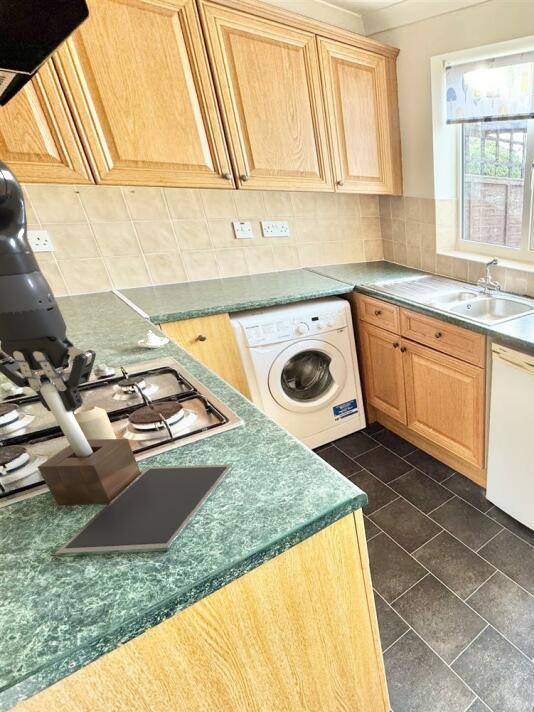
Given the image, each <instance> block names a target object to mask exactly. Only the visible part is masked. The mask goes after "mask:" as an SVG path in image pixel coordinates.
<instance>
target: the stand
mask: <svg viewBox="0 0 534 712" xmlns="http://www.w3.org/2000/svg"><path fill="white" fill-rule="evenodd" d="M87 442H88V443H89V445H90V447H91V449H92V451H93V453H94V454H92V455H91V456H90V457H81V458H77V456H76V454H75V452H74V451H73V449H72V447H71V445H70V444H68V446H66V447H65V448H63V449H62V450H60V451H59V452H57V453H56V454H54V455H53V456H50V458H49V459H47V460H45V461H43V462H42V463H41V464H39V465H38V466H37V469H38V471H39V473H40V475H41V476H42V477H41V478H42V479H43V480H44V482H45V485H46V487H47V489H48V491H49V492H50V494H51V497H52V498H53V500H54V502H55V504H56V505H57V506H60V507H61V506H81V505H108V504H109V503H110V502H111V501H112V500H113V499H114V498H115V497H116V496H117V495H118V494H120V493H121V492H122V491H123V490H124V489H125V488H126V487H127V486H128V485H129V484H130V483H132V482H133V481H134V480H135V479H136V478H137V477H138V476H139V475H140V474H141V473H142V472H141V470H140V466H139V464H138V462H137V459H136V457H135V454H134V452H133V449H132V447H131V444H130V441H129V439H128V438H117V439H93V440H87Z"/></svg>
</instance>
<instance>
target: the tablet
mask: <svg viewBox="0 0 534 712" xmlns="http://www.w3.org/2000/svg"><path fill="white" fill-rule="evenodd" d="M234 469H235V465H234V464H233V463H231V464H195V465H194V464H192V465H191V464H190V465H156V466H148V467H147V468H146V469H144V470H143V471H142V472H141V474H140V475H139V476H138V477H137V478H136V479H135V480H134V481H133V482H132V483H130V484H129V485H128V486H127V487H126V488H125V489H124V490H123V491H122V492H121V493H120V494H118V495H117V496H116V497H115V498H114V499H113V500H112V501H111V502H110V503H109V504H106V505H105V506H104V507H103V508H102V509H101V510H100V511H99V512H98V513H96V515H95V516H93V517H92V518H91V519H90V520H89V521H88V522H86V524H85V525H84V526H82V527H81V528H80V529H79V530H78V531H77V532H76V533H75V534H74V535H73V536H72V537H70V538H69V539H68V540H67V541H66V542H65V543H64V544H63V545H62V546H60V548H59V549H58V550H56V551H55V552H54V554H55V556H56V557H57V558H59V557H60V558H61V557H79V556H98V555H115V554H134V553H135V554H137V553H153V552H154V553H155V552H170V551H171V550H172V548H173V547H174V546H175V545H176V544H177V542H178V541H179V539H180V538H181V537H182V536H183V534H184V533H185V532H186V531H187V530H188V528H189V527H190V525H191V524H192V523H193V521H194V520H195V519H196V518H197V517H198V515H200V513H201V511H202V510H203V508H205V506H206V505H207V504H208V502H209V501H210V500H211V498H212V497H213V496H214V494H215V493H216V492H217V491H218V489H219V488H220V487H221V486H222V484H223V483H224V482H225V481H226V479H227V478H228V476H229V475H230V474H231V472H232V471H233V470H234Z"/></svg>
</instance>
